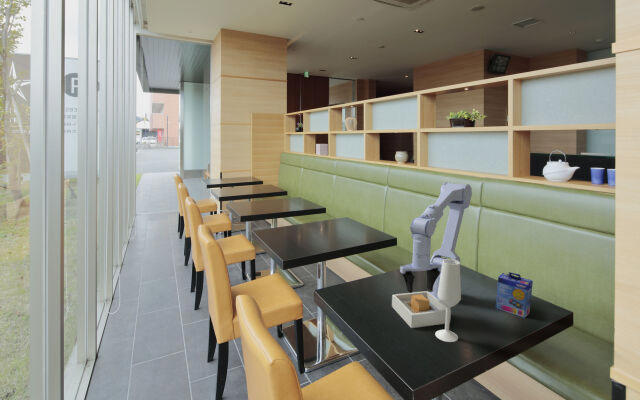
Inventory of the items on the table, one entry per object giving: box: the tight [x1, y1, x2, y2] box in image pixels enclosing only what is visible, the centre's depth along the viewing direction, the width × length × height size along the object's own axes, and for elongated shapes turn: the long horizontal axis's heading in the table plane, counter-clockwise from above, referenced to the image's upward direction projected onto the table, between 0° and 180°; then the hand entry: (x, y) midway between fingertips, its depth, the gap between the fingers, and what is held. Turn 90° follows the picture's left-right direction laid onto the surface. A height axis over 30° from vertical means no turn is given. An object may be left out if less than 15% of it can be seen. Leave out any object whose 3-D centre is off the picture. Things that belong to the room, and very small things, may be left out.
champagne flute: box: [434, 258, 462, 343], centre depth 105 cm, size 7×7×24 cm
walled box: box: [391, 290, 452, 329], centre depth 120 cm, size 14×15×4 cm
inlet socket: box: [401, 300, 439, 314], centre depth 120 cm, size 10×10×3 cm
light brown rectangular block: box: [411, 294, 429, 312], centre depth 120 cm, size 4×5×6 cm
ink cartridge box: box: [495, 271, 534, 319], centre depth 121 cm, size 10×6×14 cm, turn 45°
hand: (419, 290), depth 119 cm, fingers open, 7 cm apart
